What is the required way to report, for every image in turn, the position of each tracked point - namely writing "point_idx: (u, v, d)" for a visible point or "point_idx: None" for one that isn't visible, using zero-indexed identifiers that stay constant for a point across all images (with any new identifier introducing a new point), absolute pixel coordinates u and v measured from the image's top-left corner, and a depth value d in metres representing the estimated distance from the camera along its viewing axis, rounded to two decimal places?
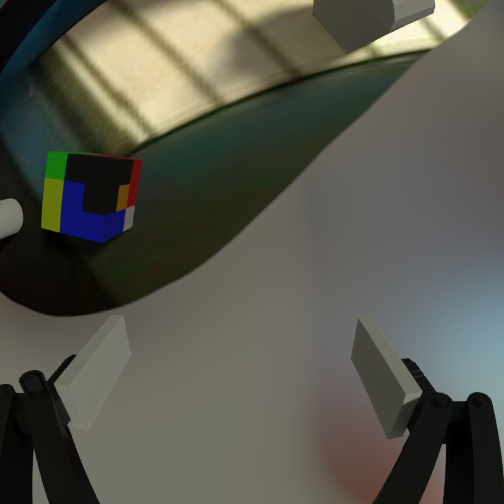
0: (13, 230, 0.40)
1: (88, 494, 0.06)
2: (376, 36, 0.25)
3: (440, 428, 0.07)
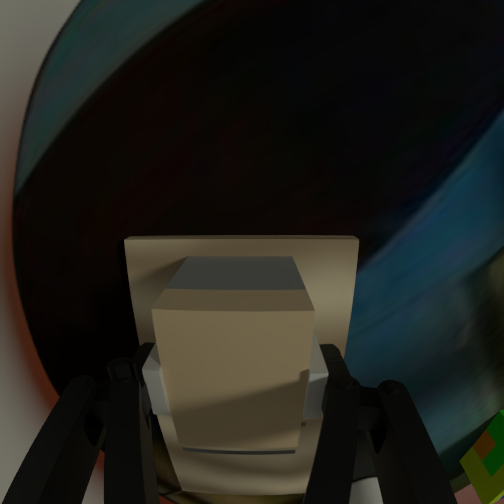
0: None
1: (150, 490, 0.06)
2: None
3: (352, 410, 0.09)
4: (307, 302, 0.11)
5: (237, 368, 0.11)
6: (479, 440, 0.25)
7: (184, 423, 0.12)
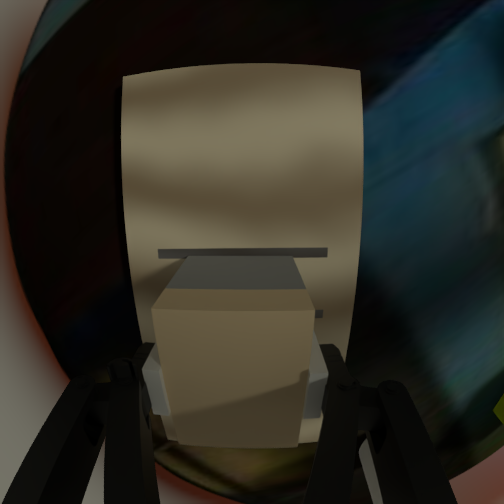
0: None
1: (150, 490, 0.06)
2: None
3: (352, 410, 0.09)
4: (307, 302, 0.11)
5: (237, 368, 0.11)
6: None
7: (184, 423, 0.12)
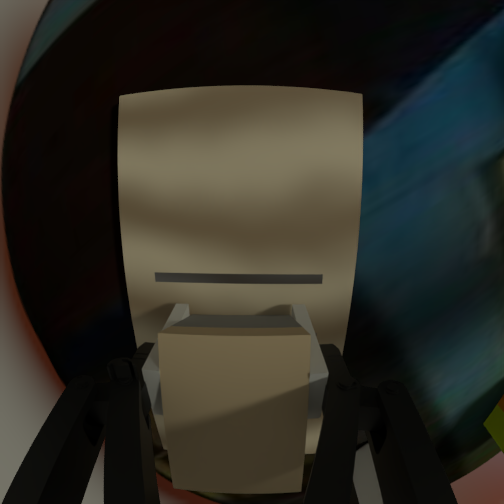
0: None
1: (150, 490, 0.06)
2: None
3: (352, 410, 0.09)
4: (303, 331, 0.12)
5: (237, 397, 0.11)
6: None
7: (181, 462, 0.11)
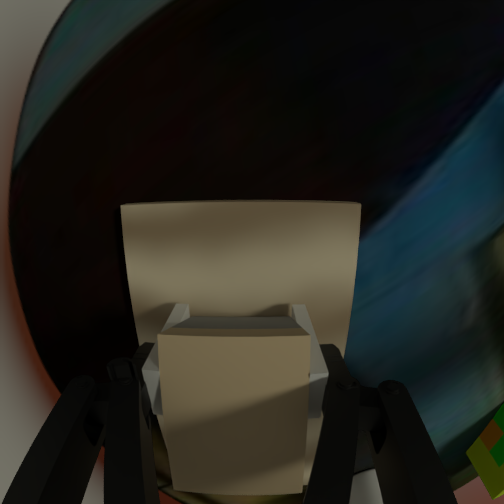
0: None
1: (150, 490, 0.06)
2: None
3: (352, 410, 0.09)
4: (303, 332, 0.12)
5: (237, 398, 0.11)
6: (486, 430, 0.24)
7: (181, 464, 0.11)
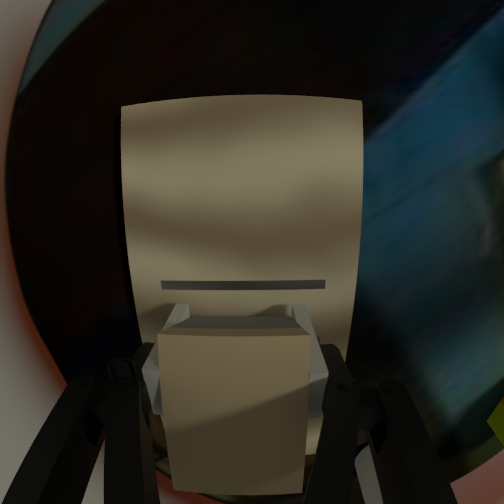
0: None
1: (150, 490, 0.06)
2: None
3: (352, 410, 0.09)
4: (303, 332, 0.12)
5: (237, 398, 0.11)
6: None
7: (180, 463, 0.11)
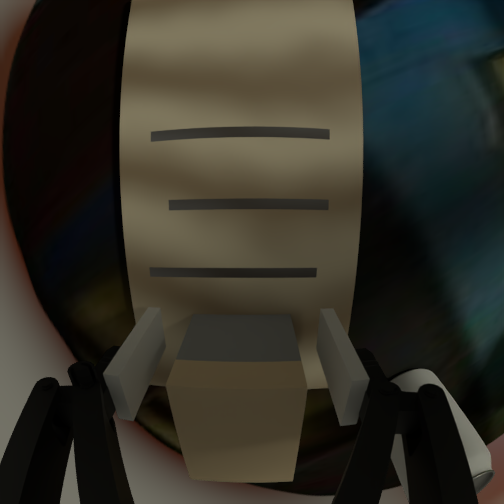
0: None
1: (122, 490, 0.06)
2: None
3: (391, 416, 0.08)
4: (301, 377, 0.12)
5: (240, 428, 0.12)
6: None
7: (195, 465, 0.13)
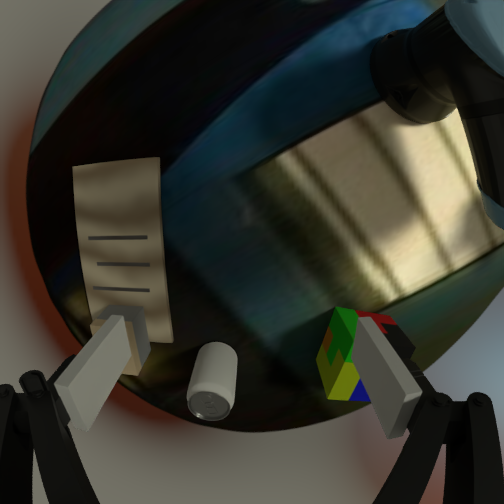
0: None
1: (88, 494, 0.06)
2: None
3: (440, 428, 0.07)
4: (127, 326, 0.38)
5: None
6: (325, 336, 0.46)
7: None
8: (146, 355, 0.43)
